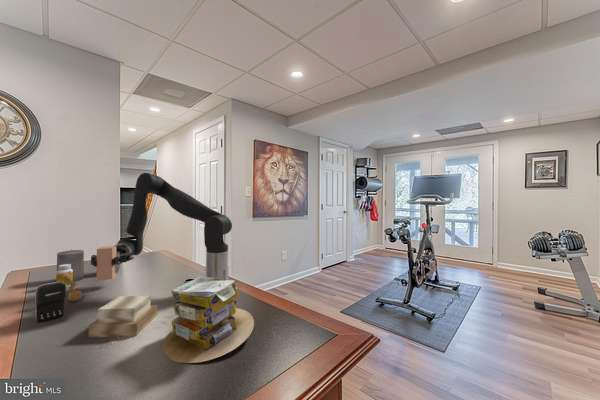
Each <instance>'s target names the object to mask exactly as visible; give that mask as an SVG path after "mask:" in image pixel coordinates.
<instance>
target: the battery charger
mask: <svg viewBox="0 0 600 400" xmlns="http://www.w3.org/2000/svg"><path fill="white" fill-rule="evenodd" d="M65 298H67V288H66V286H65V284H64V283H63V282H49V283H44V284H41V285H39V286H37V288H36V290H35V299H34V300H35V321H36V322H46V321H49V320H52V319H56V318H60V317H62V316H64V315H65V300H66V299H65Z"/></svg>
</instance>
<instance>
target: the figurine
mask: <svg viewBox="0 0 600 400" xmlns="http://www.w3.org/2000/svg"><path fill="white" fill-rule="evenodd" d="M70 274H71V271H69V272H67V273H65V274H63V275H62V278H63V280H65V281H66V282H67V284H69V285H71V286H70V287H68V289H69V290H70V292H69V294H68V295H67V299H68V300H69V301H70V302H78V301H79V300H80V299H81V298H82V295H83V294H82V292H81V291H80V290H75V289H74V288H75V287H76V286H77V283H76V281H73V280H71V275H70Z"/></svg>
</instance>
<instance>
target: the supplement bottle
mask: <svg viewBox="0 0 600 400" xmlns="http://www.w3.org/2000/svg"><path fill="white" fill-rule="evenodd" d="M70 268H71V264H64V265H59V271H57V270H56V274H55V276H56V278H55V281H56V282H63V283H64V284H65V286H66V289H67V288H68V289H69V287H70V286H71V285H69V284H67V282H66V281H65V280H63V278H62V275H63V274H65V273H67V272H69V271H71V274H70V275H71V280H73V270H72V269H70Z"/></svg>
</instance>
